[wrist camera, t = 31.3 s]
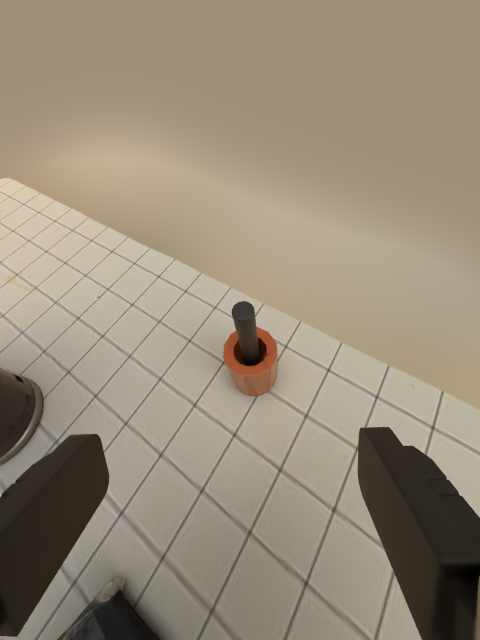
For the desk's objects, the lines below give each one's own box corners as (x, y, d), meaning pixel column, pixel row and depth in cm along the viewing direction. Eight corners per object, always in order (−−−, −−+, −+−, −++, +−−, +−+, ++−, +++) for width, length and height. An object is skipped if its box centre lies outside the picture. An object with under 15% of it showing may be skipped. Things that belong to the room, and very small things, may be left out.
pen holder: (232, 396, 28) (222, 377, 23) (232, 354, 30) (224, 328, 25) (278, 395, 28) (279, 374, 23) (274, 352, 30) (275, 325, 25)
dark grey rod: (246, 380, 28) (231, 320, 18) (246, 366, 29) (231, 301, 19) (261, 379, 28) (254, 319, 18) (261, 365, 29) (253, 300, 19)
